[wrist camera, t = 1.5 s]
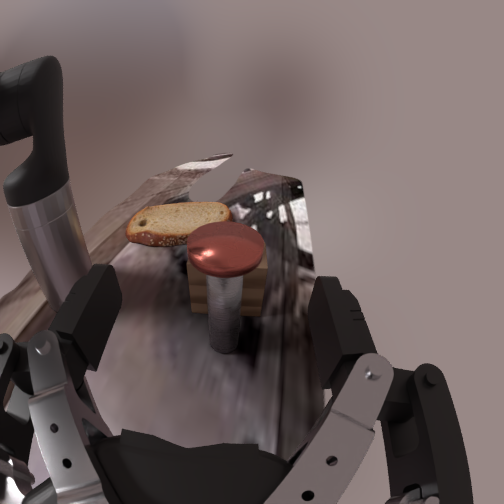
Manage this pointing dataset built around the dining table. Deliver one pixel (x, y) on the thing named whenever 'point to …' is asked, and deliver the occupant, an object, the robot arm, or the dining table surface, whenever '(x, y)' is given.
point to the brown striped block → (250, 289)
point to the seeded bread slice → (174, 222)
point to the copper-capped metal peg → (224, 274)
